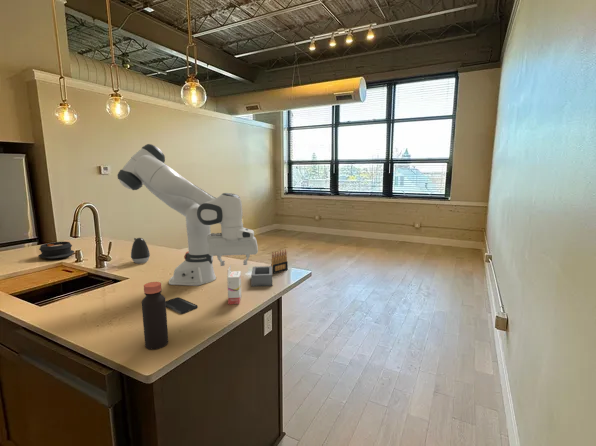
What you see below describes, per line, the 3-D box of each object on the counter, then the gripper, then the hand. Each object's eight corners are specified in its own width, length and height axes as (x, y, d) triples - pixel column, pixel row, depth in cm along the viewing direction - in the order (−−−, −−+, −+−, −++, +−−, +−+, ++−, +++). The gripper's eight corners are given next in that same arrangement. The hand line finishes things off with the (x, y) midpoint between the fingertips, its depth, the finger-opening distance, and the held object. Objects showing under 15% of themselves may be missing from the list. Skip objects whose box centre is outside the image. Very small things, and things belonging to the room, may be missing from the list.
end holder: (251, 286, 151) (251, 275, 150) (253, 276, 164) (252, 266, 163) (272, 285, 151) (272, 274, 151) (272, 276, 165) (272, 266, 164)
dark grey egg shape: (144, 259, 197) (142, 235, 195) (153, 261, 191) (151, 237, 189) (128, 262, 189) (125, 238, 186) (136, 265, 183) (134, 240, 180)
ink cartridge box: (240, 304, 130) (239, 270, 128) (227, 304, 130) (226, 270, 128) (241, 296, 139) (241, 264, 136) (230, 296, 138) (229, 264, 136)
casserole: (35, 255, 204) (33, 243, 203) (69, 250, 218) (68, 238, 216) (42, 263, 187) (40, 249, 186) (79, 257, 201) (77, 244, 200)
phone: (178, 296, 136) (198, 305, 127) (178, 299, 136) (198, 308, 127) (160, 302, 130) (181, 312, 121) (160, 305, 130) (181, 315, 121)
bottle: (150, 352, 95) (145, 290, 92) (141, 344, 100) (136, 284, 97) (172, 343, 100) (168, 284, 97) (162, 336, 105) (158, 279, 102)
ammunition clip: (272, 274, 169) (272, 252, 167) (270, 273, 171) (270, 251, 169) (287, 270, 176) (287, 249, 174) (285, 269, 178) (285, 248, 176)
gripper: (205, 234, 125) (207, 268, 128) (256, 233, 127) (257, 266, 129) (208, 231, 132) (210, 263, 134) (257, 230, 133) (258, 262, 135)
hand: (234, 265), depth 132 cm, fingers open, 8 cm apart
